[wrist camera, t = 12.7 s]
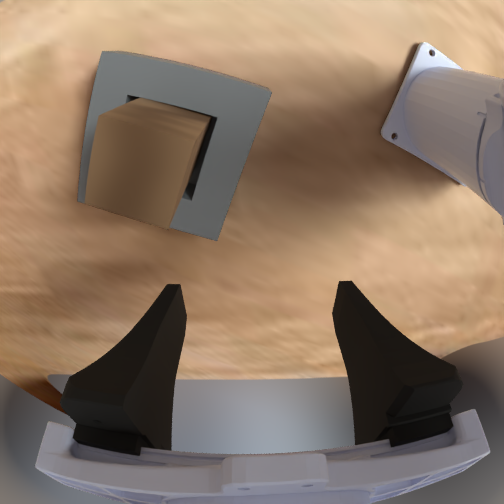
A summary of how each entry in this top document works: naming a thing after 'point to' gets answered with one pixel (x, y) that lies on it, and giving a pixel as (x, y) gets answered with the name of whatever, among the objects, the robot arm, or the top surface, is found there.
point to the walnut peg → (144, 159)
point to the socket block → (194, 98)
